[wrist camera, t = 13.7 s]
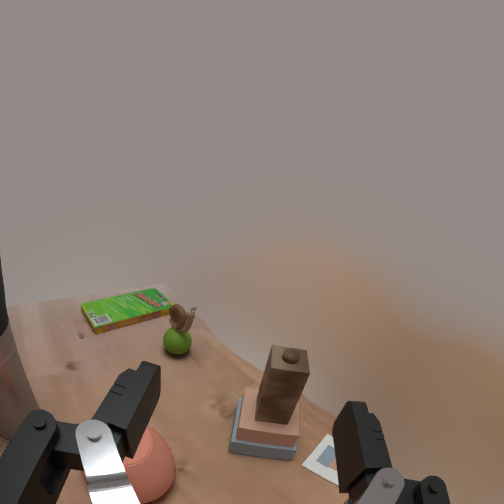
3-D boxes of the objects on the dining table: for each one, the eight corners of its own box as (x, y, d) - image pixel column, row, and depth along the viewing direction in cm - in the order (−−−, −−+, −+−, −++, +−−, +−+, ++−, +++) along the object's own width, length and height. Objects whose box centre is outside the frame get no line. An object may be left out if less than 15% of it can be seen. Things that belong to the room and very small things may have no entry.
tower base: (228, 451, 34) (234, 429, 32) (236, 408, 43) (242, 384, 41) (290, 460, 34) (303, 439, 32) (290, 417, 42) (301, 393, 40)
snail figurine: (178, 367, 49) (182, 312, 46) (157, 348, 53) (158, 295, 49) (199, 356, 54) (206, 303, 50) (178, 339, 57) (182, 288, 53)
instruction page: (301, 465, 33) (301, 464, 33) (326, 434, 39) (327, 433, 39) (357, 495, 27) (358, 495, 27) (377, 460, 34) (378, 459, 34)
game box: (82, 314, 58) (155, 294, 73) (96, 339, 52) (175, 313, 67) (80, 303, 57) (155, 284, 71) (94, 327, 51) (176, 302, 66)
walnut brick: (254, 420, 34) (272, 362, 31) (256, 397, 38) (273, 339, 35) (287, 424, 34) (311, 368, 31) (287, 402, 38) (308, 345, 35)
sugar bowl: (170, 437, 34) (170, 393, 31) (184, 522, 22) (184, 497, 19) (87, 431, 31) (72, 385, 27) (83, 515, 18) (55, 484, 15)
